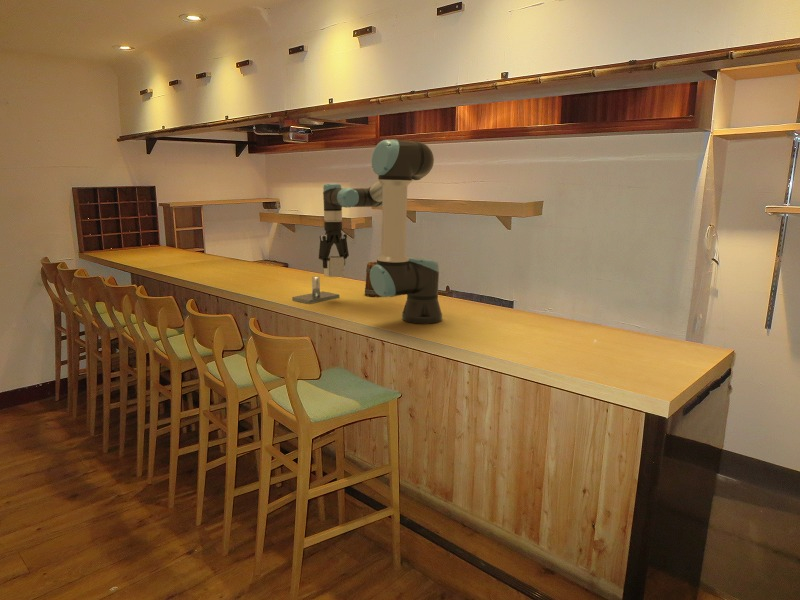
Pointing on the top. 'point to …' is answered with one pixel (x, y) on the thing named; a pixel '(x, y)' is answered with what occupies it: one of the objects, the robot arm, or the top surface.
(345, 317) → the top surface
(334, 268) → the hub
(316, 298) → the shaft stand
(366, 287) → the mug
